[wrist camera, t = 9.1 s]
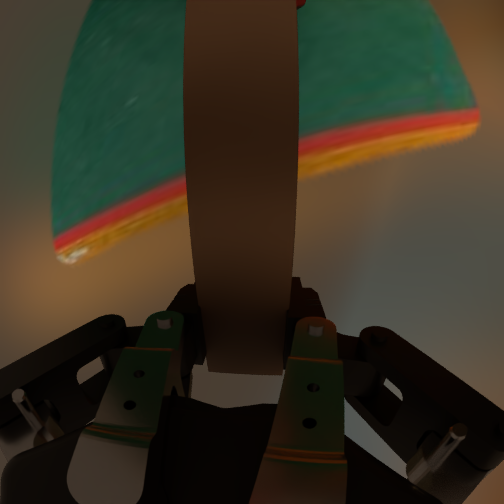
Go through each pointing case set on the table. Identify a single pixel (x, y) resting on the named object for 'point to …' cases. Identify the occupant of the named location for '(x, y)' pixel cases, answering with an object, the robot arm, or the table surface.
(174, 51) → the table surface
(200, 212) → the walnut plank
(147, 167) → the table surface
